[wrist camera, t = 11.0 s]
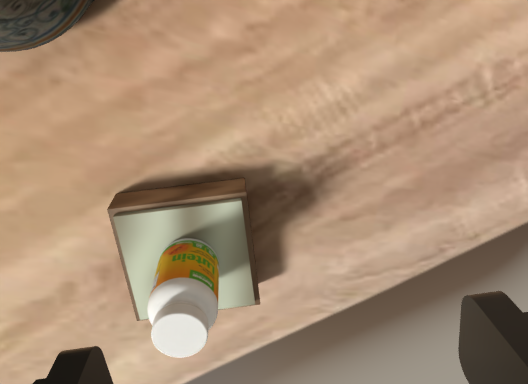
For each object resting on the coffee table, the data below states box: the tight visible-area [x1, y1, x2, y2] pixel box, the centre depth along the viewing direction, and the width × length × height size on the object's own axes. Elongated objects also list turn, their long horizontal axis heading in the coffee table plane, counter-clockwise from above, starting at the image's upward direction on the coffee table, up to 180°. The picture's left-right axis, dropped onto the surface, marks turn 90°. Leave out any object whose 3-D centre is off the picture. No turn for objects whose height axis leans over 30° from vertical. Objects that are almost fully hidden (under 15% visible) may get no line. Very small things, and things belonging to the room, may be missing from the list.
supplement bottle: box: [147, 238, 219, 358], centre depth 36 cm, size 5×5×10 cm
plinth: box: [107, 178, 260, 321], centre depth 43 cm, size 12×12×4 cm
